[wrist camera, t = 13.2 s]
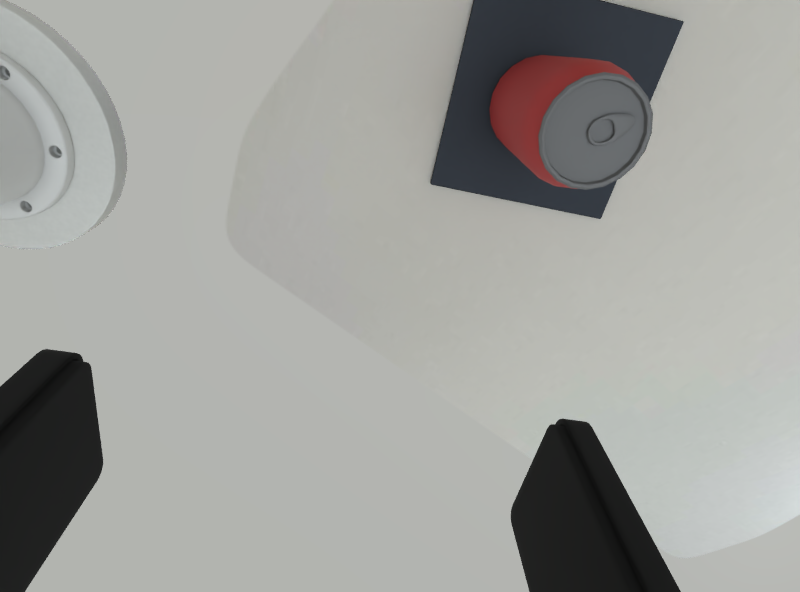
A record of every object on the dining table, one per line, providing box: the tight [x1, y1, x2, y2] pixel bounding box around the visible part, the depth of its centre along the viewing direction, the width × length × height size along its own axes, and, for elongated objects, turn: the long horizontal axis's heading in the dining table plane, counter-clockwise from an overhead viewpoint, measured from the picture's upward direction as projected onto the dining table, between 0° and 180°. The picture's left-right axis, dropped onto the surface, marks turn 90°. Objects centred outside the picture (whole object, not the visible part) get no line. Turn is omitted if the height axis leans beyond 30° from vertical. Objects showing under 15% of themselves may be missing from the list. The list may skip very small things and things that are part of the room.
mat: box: [431, 0, 683, 219], centre depth 34 cm, size 14×14×1 cm
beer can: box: [490, 55, 653, 190], centre depth 29 cm, size 7×7×12 cm
